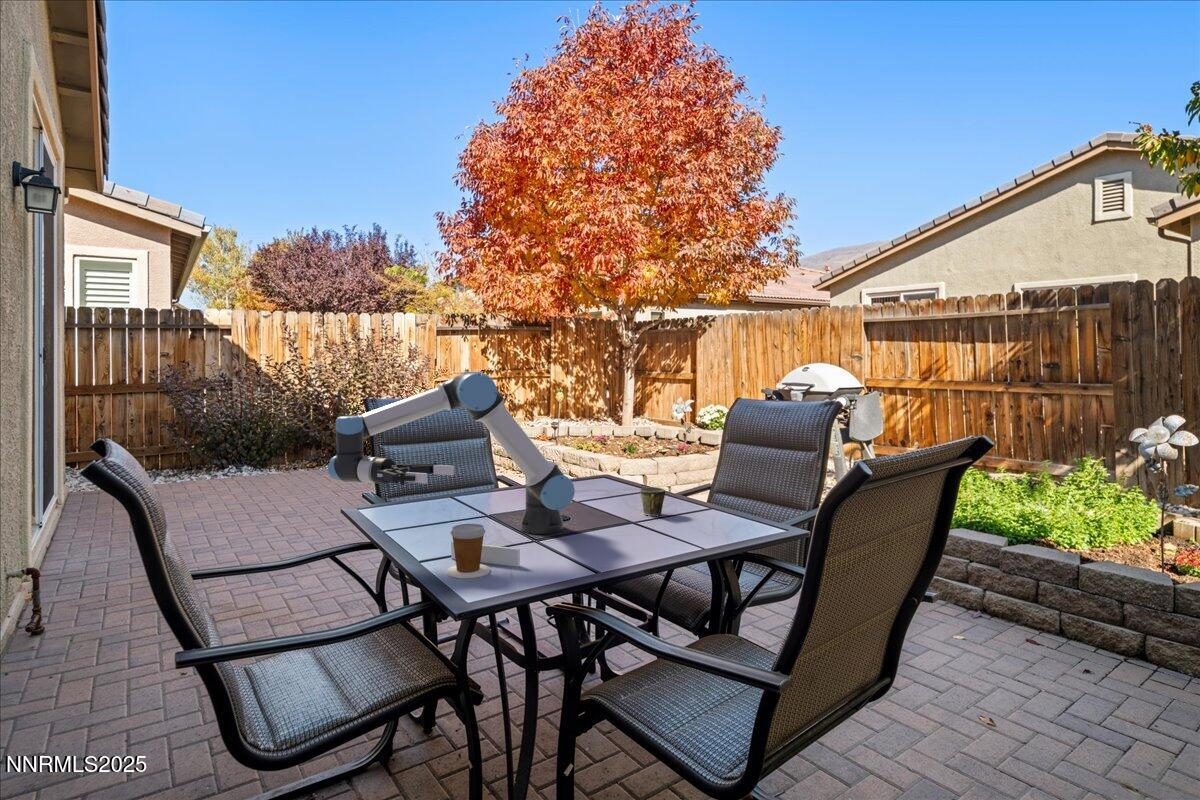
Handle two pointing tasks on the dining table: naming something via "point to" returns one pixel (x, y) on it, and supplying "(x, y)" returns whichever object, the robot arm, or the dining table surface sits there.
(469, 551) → the disposable coffee cup
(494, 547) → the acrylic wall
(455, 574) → the mat
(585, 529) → the dining table surface
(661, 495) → the ceramic cup
